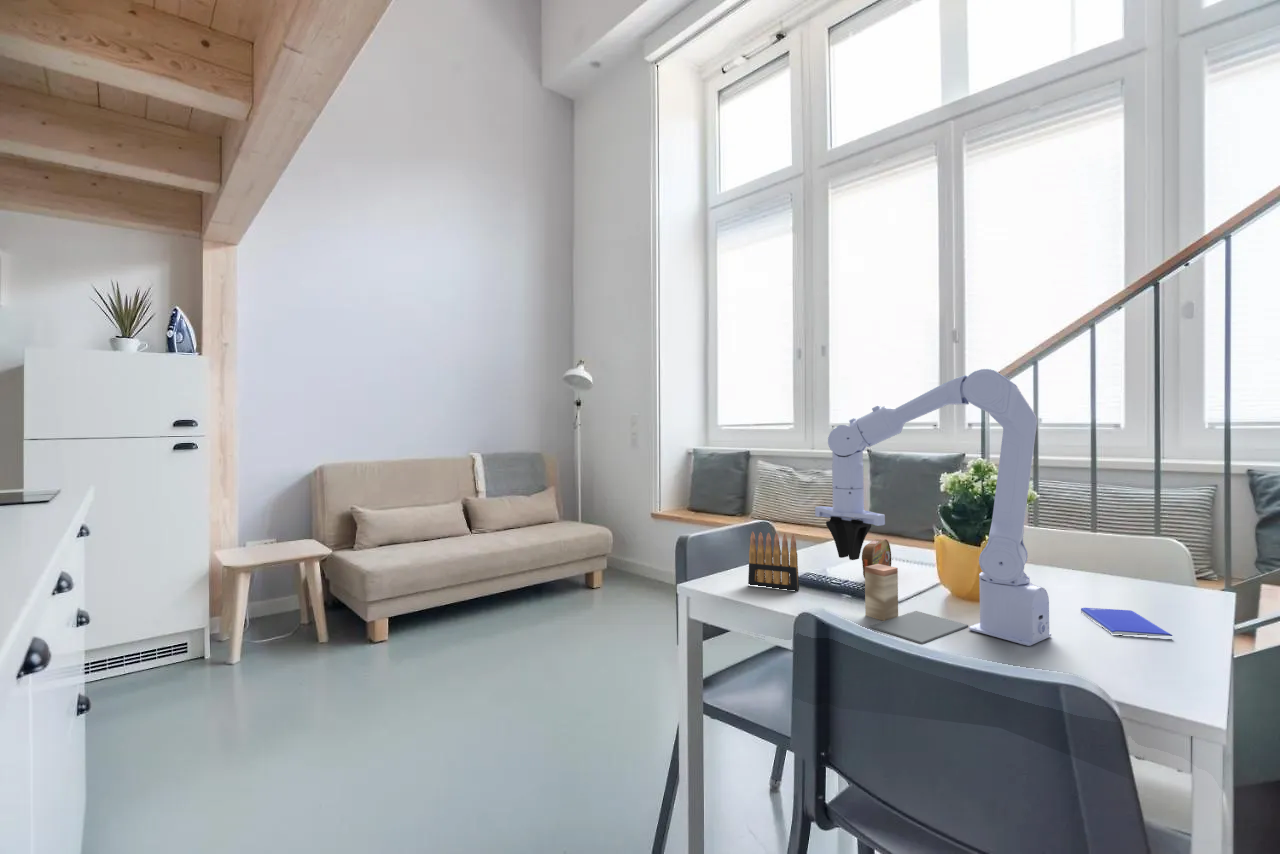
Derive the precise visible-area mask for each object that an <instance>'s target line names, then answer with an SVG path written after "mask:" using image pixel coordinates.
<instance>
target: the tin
mask: <svg viewBox="0 0 1280 854" xmlns="http://www.w3.org/2000/svg"><path fill="white" fill-rule="evenodd" d="M861 551H862V552H861V561H862V562H861V564H862V574H863V578H864V579H865V567H866V566H870V565H875V564H882V565H886V566H891V567H892V551H891V545H890V542H889V541H888V539H887V538H884V539H882V538H881V539H877V538H876V539H874V540H872V541H870V542H869V543H867V544H865V545H864V547H862V550H861Z"/></svg>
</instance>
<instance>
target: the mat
mask: <svg viewBox="0 0 1280 854" xmlns="http://www.w3.org/2000/svg"><path fill="white" fill-rule="evenodd" d="M967 628H969V624H967V623H962V622H958V621H955V620H951V619H949V618H946V617H945V618H944V617H940V616H938V615H937V616H936V615H932V614H929V613H925V612H922V611H918V610H915V611H912V612H908V613H904V614H902V615H898V617H895V618H892V619H889V620H886V621H882V620H881V621H880V622H876V623H873V624H871V625H869V629H872V630H873V629H874V630H876V631H880V632H883V633H886V634H890V635H891V636H892V635H893V636H896V637H899V638H902V639H905V640H908V641H911V642H913V643H918V644H921V645H923V644H925V643H928V642H931V641H933V640H936V639H938V638H941V637H945V636H946V635H949V634H952V633H955V632H958V631H960V630H963V629H967Z"/></svg>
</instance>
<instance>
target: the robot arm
mask: <svg viewBox="0 0 1280 854" xmlns="http://www.w3.org/2000/svg"><path fill="white" fill-rule="evenodd" d="M969 404H972V405H973V406H974V407H976V408H978V409H980V410H982V411H984V412H987V413H988V414H989V415H990V417H991V418H993V419H994V420H995V421H996V422H997V423H998V424H999V426H1001V427H1002V429H1003V430H1002V437H1001V446H1000V452H999V453H1000V455H999V462H998V463H999V464H998V469H997V478H996V485H995V486H996V487H995V494H994V503H993V509H992V519H991V523H990V530H989V534H988V539H987V543H986V545H985V547H984V548H983V549H982V551H981V553H980V554H979V557H978V564H979V568H980V569H981V572H980V573H979V622H977V623H975V624H973V625H970V626H968V629H969V630H970V631H972V632H976V633H980V634H983V635H988V636H990V637H994V638H998V639H1002V640H1004V641H1009V642H1012V643H1016V644H1020V645H1024V646H1027V647H1032V646H1033V645H1036V644H1038V643H1040V642H1041V641H1044V640H1045V639H1046V640H1047V639H1049V638H1050V637H1052V633H1051V632H1050V600H1049V597H1050V596H1049V594H1048V592H1047V589H1045V588H1044V587H1042V586H1039V585H1036V584H1033V583H1031V581H1030V576H1028V575H1027V574H1026V572H1025V565H1026V563H1027V561H1028V556H1029V555H1028V550H1027V548H1026V545H1025V542H1024V533H1025V519H1026V511H1027V505H1028V496H1029V495H1028V494H1029V491H1030V490H1029V489H1030V488H1029V487H1030V480H1031V473H1032V465H1033V456H1034V449H1035V441H1036V436H1037V435H1036V434H1037V433H1036V432H1037V426H1038V425H1037V424H1038V418H1037V416H1036V414H1035V412H1034V411H1033V408H1031V405H1029V403H1028V401H1027V400H1026V398H1025V397H1024V395H1023V394H1022V392H1021V391H1020V389H1019V386H1017V384H1015V383H1014V382H1012V381H1011V379H1008V378H1007V377H1006V376H1004V375H1002V374H1001V373H1000V372H998V371H996V370H995V369H991V368H981V369H977V370H974V371H973V372H971V373H970V374H968V375H966V374H965V375H961V376H958V377H955V378H953V379H950V380H948V381H947V382H944V383H941V384H940V385H937V386H936V387H934V388H933V389H930V390H929V391H927V392H924V393H922V394H920V395H919V396H917V397H914V398H913V399H911V400H910V401H906V402H905V403H904V404H901V405H900V406H898V407H892V406H889V405H884V406H882V407H881V405H877V406H876V405H875V406H874V407H872V408H871V410H872V412H869V413H867V414H865V415H864V416H861V417H859V418H851V419H849V420H848V421H849V425H848V424H838V425H837V426H836V427H834V428H833V429H832V430H831V431H830V432H829V434H828V438H827V444H828V447H829V449H830V451H831V452H832V453H831V454H832V455H831V456H832V457H831V458H832V465H831V467H832V468H831V470H832V471H831V472H832V473H831V474H832V475H831V477H832V479H831V480H832V482H831V483H832V484H831V485H832V506H824V505H823V506H822V505H820V506H815V507H814V513H815V514H814V516H815V517H817V518H819V517H820V518H821V517H823V518H828V519H829V520H827V521H826V522H825V525H826V527H827V528H828V530H829V531H830V534H831V536H832V538H833V540H834V541H833V542H834V543H835V544H834V545H835V547H836V550H837V554H838V558H840V559H841V558H843V559H844V558H847V557H848V558H849V560H850V561H854V560H855V561H856V560H858V559H860V556H861V553H862V552H861V551H862V549H863V544H864V542H865V539H866V537H867V536H868V535H867V534H869V532H870V529H871V528H872V525H874V526H876V527H877V526H878V527H879V526H884V525H886V516H885V515H886V514H884V513H878V512H873V511H870V510H865V492H864V491H865V490H864V489H865V488H864V487H865V486H864V481H865V480H864V479H865V478H864V459H863V457H864V453H863V452H864V451H865V450H866V448H871V447H873V446H875V445H878V444H880V443H881V442H884V441H886V440H888V439H890V438H892V437H895V436H897V435H899V434H902V430H903V429H904V426H905V424H906V423H909V422H911V421H913V420H916V419H917V418H921V417H922V416H924V415H927V414H930V413H932V412H934V411H936V410H939V409H941V408H943V407H945V406H949V405H957V406H958V405H959V406H960V405H965V406H966V405H967V406H968V405H969Z"/></svg>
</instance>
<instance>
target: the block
mask: <svg viewBox="0 0 1280 854" xmlns="http://www.w3.org/2000/svg"><path fill="white" fill-rule="evenodd" d="M898 574H899V571H898V567H895V566H892V565H891V566H886V565H882V564H875V565H870V566H866V567H865V578H864V594H865V595H864V596H865V597H864V601H865V607H864V608H865V614H864V615H865V617H869V618H872V619H876V620H879V621H881V622H882V621H886V620H889V619H892V618H895V617H898V616H899V589H898V588H899V586H898V585H899V582H898V579H899V578H898V577H899V576H898Z"/></svg>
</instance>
